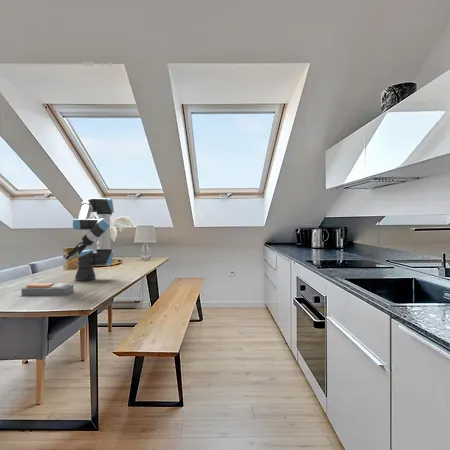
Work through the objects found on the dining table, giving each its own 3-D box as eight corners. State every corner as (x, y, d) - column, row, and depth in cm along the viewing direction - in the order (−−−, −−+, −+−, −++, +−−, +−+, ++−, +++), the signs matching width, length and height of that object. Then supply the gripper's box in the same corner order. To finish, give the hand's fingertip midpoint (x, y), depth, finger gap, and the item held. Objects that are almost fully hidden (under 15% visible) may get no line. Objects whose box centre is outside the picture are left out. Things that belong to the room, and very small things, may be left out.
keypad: (32, 290, 228) (32, 282, 228) (73, 290, 229) (73, 282, 229) (21, 295, 214) (21, 286, 214) (64, 295, 215) (64, 286, 215)
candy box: (66, 271, 230) (66, 248, 230) (62, 270, 233) (62, 247, 232) (78, 269, 238) (78, 247, 237) (75, 269, 240) (75, 246, 240)
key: (33, 287, 225) (33, 283, 225) (53, 287, 226) (53, 283, 226) (26, 289, 217) (26, 285, 217) (47, 289, 218) (47, 285, 218)
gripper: (88, 243, 225) (63, 267, 224) (99, 241, 247) (76, 263, 246) (80, 234, 224) (55, 259, 224) (91, 233, 246) (68, 255, 246)
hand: (66, 261), depth 235 cm, fingers closed on candy box, 9 cm apart
